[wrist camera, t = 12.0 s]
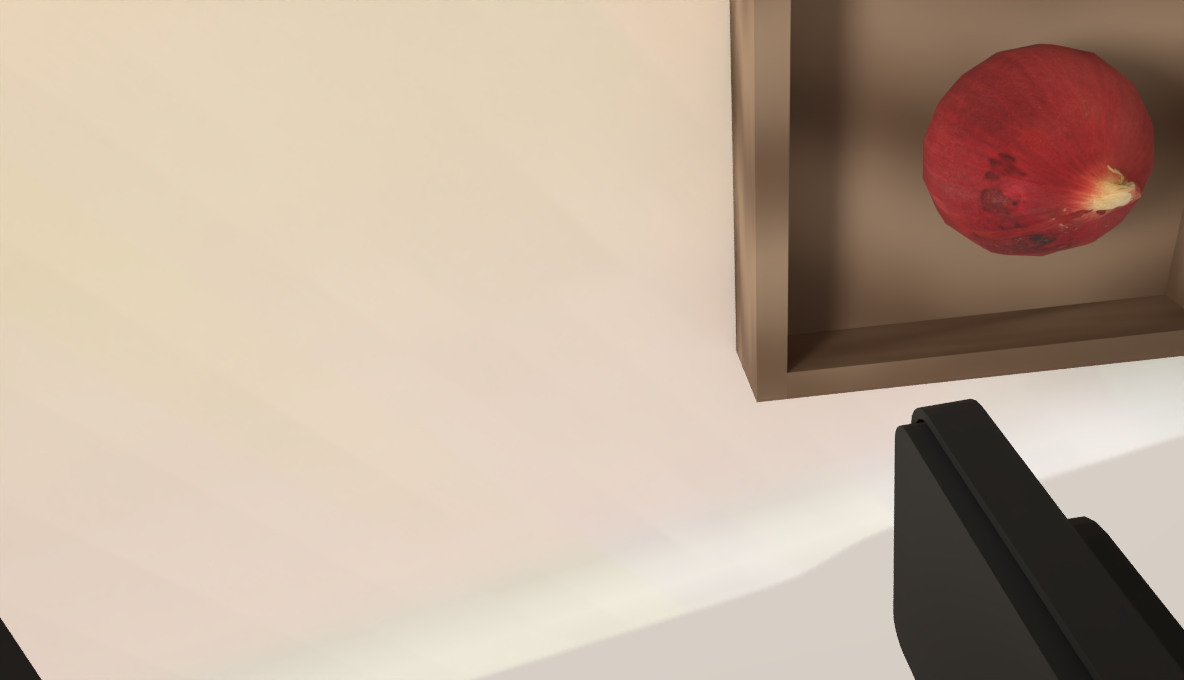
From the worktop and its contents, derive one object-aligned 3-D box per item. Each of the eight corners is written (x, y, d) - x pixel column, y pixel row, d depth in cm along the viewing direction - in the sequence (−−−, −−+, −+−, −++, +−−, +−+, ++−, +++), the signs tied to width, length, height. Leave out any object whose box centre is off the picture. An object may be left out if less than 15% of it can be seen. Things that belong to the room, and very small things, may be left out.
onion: (981, 234, 32) (1109, 349, 25) (849, 149, 31) (947, 246, 24) (1106, 85, 30) (1285, 164, 23) (972, -16, 28) (1121, 37, 21)
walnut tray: (726, -138, 27) (752, -133, 24) (1280, -194, 28) (1375, -196, 25) (736, 351, 35) (756, 402, 32) (1170, 304, 35) (1232, 350, 32)
